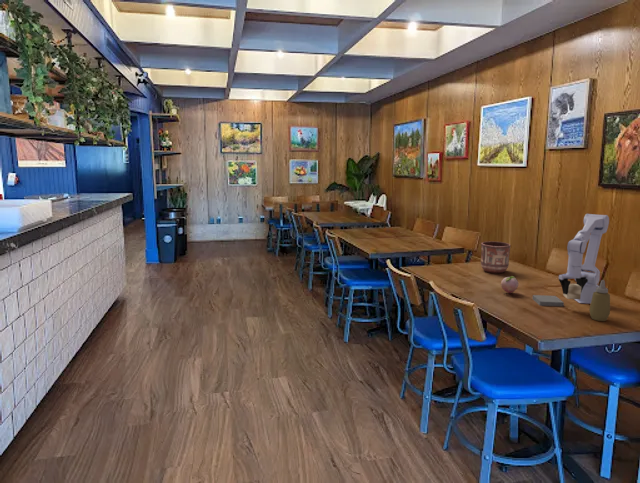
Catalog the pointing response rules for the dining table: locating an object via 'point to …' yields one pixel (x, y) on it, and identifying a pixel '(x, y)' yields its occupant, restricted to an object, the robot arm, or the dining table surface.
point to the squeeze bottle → (600, 303)
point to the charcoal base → (547, 300)
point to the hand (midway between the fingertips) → (571, 293)
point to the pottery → (495, 256)
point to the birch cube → (573, 292)
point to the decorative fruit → (509, 284)
